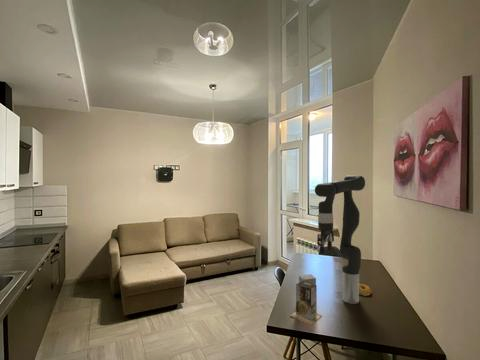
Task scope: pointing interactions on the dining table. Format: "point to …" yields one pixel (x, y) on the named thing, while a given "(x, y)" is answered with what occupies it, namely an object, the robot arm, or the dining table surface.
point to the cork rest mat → (305, 318)
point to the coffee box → (306, 300)
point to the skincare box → (307, 279)
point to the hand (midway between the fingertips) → (326, 251)
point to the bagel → (364, 290)
